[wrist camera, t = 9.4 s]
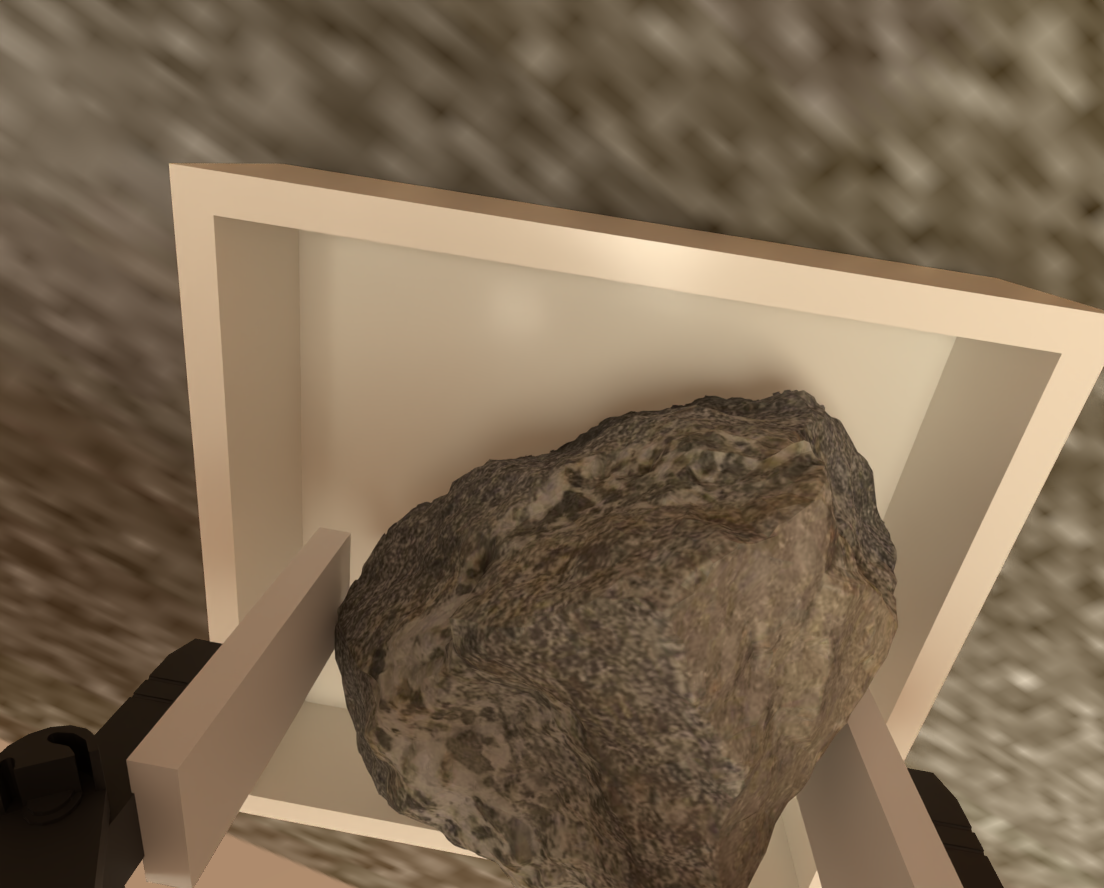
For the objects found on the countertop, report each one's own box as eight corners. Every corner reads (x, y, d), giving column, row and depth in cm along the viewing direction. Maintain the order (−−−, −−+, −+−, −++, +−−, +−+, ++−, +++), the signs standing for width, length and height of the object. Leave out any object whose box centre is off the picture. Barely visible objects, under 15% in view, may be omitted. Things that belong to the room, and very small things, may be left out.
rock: (546, 801, 19) (509, 1088, 13) (299, 634, 18) (130, 867, 12) (926, 496, 14) (1142, 725, 8) (629, 233, 13) (630, 282, 7)
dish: (292, 697, 23) (224, 809, 19) (280, 163, 16) (169, 163, 12) (786, 788, 23) (821, 923, 19) (997, 277, 16) (1128, 317, 12)
